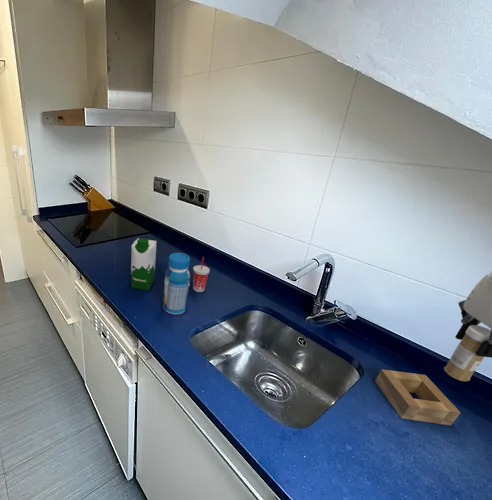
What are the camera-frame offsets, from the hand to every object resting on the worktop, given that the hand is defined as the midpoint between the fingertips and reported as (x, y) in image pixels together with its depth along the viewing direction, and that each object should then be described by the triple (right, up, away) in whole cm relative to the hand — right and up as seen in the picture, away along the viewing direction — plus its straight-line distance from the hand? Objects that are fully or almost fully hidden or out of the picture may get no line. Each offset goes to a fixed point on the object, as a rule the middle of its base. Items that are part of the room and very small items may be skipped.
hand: (473, 346), depth 66 cm
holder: (-12, -15, +3) cm, 19 cm away
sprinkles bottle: (0, -8, +4) cm, 9 cm away
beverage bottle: (-65, +2, +34) cm, 74 cm away
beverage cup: (-54, +7, +46) cm, 71 cm away
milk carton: (-76, +8, +47) cm, 90 cm away
